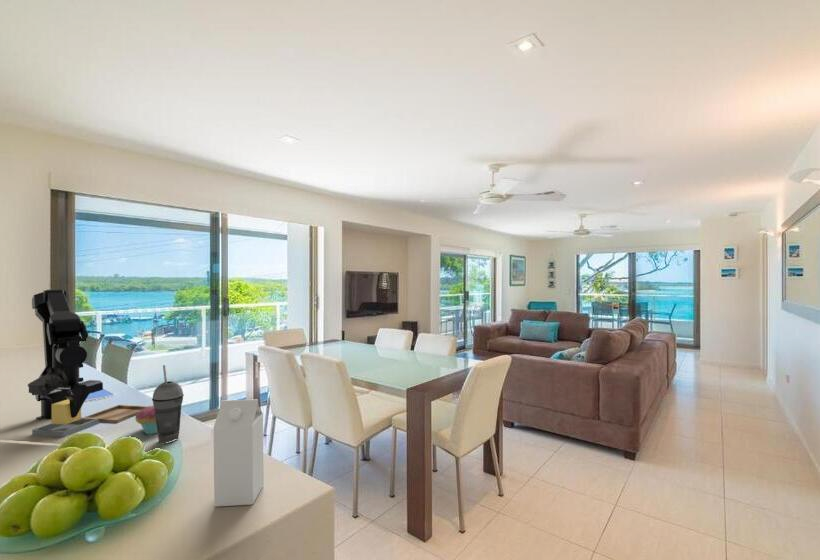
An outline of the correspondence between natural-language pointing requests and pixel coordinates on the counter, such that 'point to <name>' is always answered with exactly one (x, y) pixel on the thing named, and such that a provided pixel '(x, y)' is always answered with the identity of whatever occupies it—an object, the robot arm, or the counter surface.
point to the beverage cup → (168, 409)
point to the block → (63, 413)
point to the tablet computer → (99, 395)
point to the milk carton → (238, 453)
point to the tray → (117, 413)
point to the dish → (65, 428)
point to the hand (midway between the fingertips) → (66, 416)
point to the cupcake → (147, 420)
